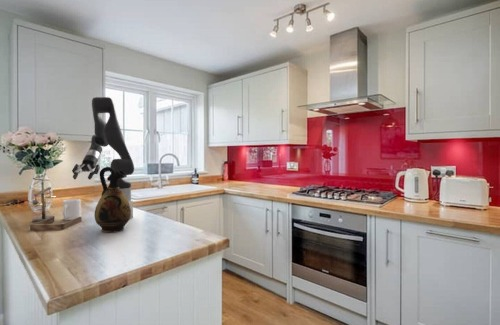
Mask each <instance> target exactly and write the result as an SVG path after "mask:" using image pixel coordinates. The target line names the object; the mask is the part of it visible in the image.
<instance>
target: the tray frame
mask: <svg viewBox="0 0 500 325" xmlns="http://www.w3.org/2000/svg"><path fill="white" fill-rule="evenodd" d="M54 222H55V218H54V217H51V218H48V219H45V220H43V221H40V222H33V223H32V224H30V225H29V230H30V231H47V230H48V231H51V230H53V231H55V230H57V231H58V230H65V229H68V228H69V227H72V226H74V225H76V224H79V223H80V222H82V216H81V217H77V218H75V219H73V220H67V221H65V222H64V223H54Z"/></svg>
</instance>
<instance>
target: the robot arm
mask: <svg viewBox="0 0 500 325" xmlns="http://www.w3.org/2000/svg"><path fill="white" fill-rule="evenodd" d="M91 109H92V116H93V121H94V122H93V123H94V134H93V135H92V136H91V141H90V147H89V149H88V150H87V152H86V153H85V156H84V158H83V159H82V162H81V164H78V163H76V164H75V165H74V167H72V168H73V169H72V170H71V172H72V173H73V175H72V178H73V180H76V179H77V178H78V176H79V175H80V174H82V173H83V172H84V173H85V172H89V174H88V176H87V179H88V180H92V179H93V177H94V175H98V173H99V172H100V169H101V167H100V165H99V164H98V161H99V159H100V156H101V154H102V152H103V148H104V147H108V146H109V147H111V149H113V150H114V151H115V152H116V153H117V154H118V156H119V158H113V159H112V160H111V162H110V167H111V168H113V169H114V170H115V172H116V171H117V170H118V171H121V170H122V171H123V172H124V173H125V174H126V175H127V176H129V175H133V173H135V172H134V171H135V165H134V162H133V159H132V157H131V154H130V152H129V151H128V147H127V145H126V142H125V138H124V136H123V135H124V134H123V132H122V128H121V126H120V123H119V119H118V117H117V113H116V108H115V103H114V102H113V99H112V98H111V97H109V96H107V97H106V96H105V97H104V96H103V97H102V96H99V97H97V96H96V97H92V100H91ZM100 114H109V116H108V120H107V121H105V120H104V119H103V118H102V116H101V115H100ZM118 187H119V188H120V190H121V191H122V192H123V194H124V195H125V196H126V198H127V200H128V202H129V205H130V209H131V216H130V219H132V218H133V217H134V207H133V206H134V204H133V203H134V202H133V199H132V184H131V182H130V181H126V180H124V178H122V179H120V180H119V181H118Z"/></svg>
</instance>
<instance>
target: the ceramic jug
mask: <svg viewBox="0 0 500 325" xmlns="http://www.w3.org/2000/svg"><path fill="white" fill-rule="evenodd" d="M106 172H110V174H109V175H108V177H107V179H106V178H105V173H106ZM127 177H128V175H126V174H125V173H124V172H123V171H122V170H121V171H118V170H117V171H116V172H115V170H114V169H113V168H111V166H105V167H103V168H101V170H99V181H100V183H101V186H102V189H103V190H102V192H101V197H100V198H99V200H98V202H97V204H96V206H95V209H94V220H95V221H94V222H95V223H96V225H98V226H99V227H100V228H101V231H102V232H103V233H110V234H111V233H117V232H122V231H124V229H125V226H126V225H127V223H129V221H130V220H131V218H130V216H131V209H130V205H129V202H128V200H127V198H126V196H125V195H124V194H123V192H122V191H121V190H120V188H119V187H118V181H119V180H120V179H125V178H127ZM106 181H109V184H108V185H107V182H106Z"/></svg>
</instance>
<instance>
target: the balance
mask: <svg viewBox="0 0 500 325" xmlns="http://www.w3.org/2000/svg"><path fill="white" fill-rule="evenodd" d="M51 190H52V187H50V186H49V187H47V188H45V189H42V190H40V191H38V192H36V193H34V194H33V196H34V198H35V199H34V200H33V199H32V203H30V204H28V207H39V206H41V216H39V217H36V218H33V219H32V220H31V221H32V222H33V223H37V222H40V221H43V220H45V219H48V218H51V217H54V219H55V215H46V199H55V198H57V195H47V196H46V192H48V191H49V194H51ZM38 196H40V199H41V202H40V200H39V199H37V197H38Z"/></svg>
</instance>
